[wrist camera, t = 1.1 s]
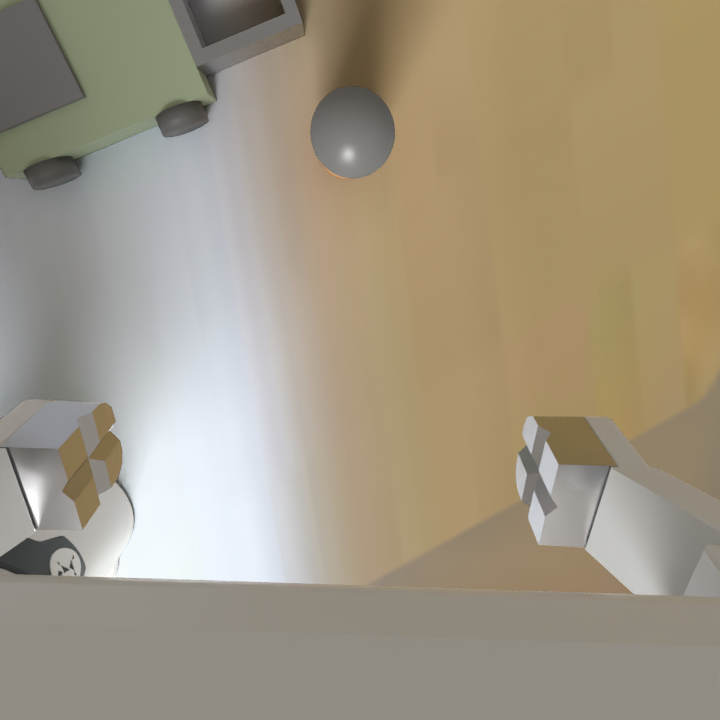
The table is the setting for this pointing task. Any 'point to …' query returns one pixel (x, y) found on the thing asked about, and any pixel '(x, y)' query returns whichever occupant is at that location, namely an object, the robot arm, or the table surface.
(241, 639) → the robot arm
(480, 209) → the table surface
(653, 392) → the table surface
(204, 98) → the toy wheeled cart
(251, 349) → the table surface
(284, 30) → the box
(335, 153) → the orange and grey cylinder
